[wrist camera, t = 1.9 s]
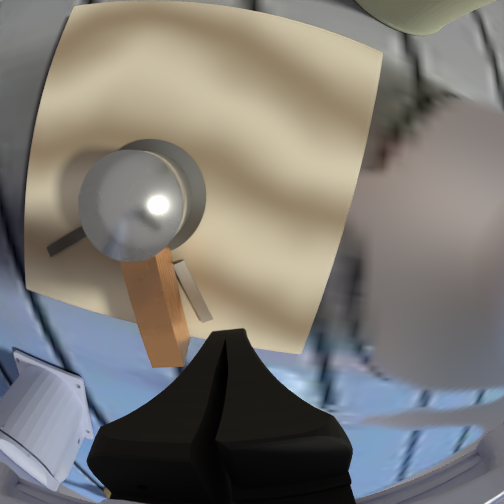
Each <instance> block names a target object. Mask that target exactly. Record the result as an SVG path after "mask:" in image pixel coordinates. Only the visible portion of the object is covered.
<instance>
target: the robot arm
mask: <svg viewBox="0 0 504 504" xmlns="http://www.w3.org/2000/svg"><path fill="white" fill-rule="evenodd" d="M13 354H14V358H15V362H16V366H17V369H18V373H19V376H18V378H17V379H16V380H15V381H14V383H13V384H12V385H11V387H10V388H9V389H8V390H7V392H6V393H5V394H4V396H3V397H2V398H1V400H0V504H96V503H92V502H88V501H84V500H81V499H77V498H74V497H71V496H67V495H64V494H61V493H59V492H58V491H57V488H58V486H59V483H61V482H62V481H64V480H65V479H66V478H67V477H68V475H69V473H70V470H71V468H72V465H73V463H74V461H75V458H76V456H77V453H78V451H79V449H80V446H81V444H82V442H83V439H84V437H85V438H88V439H93V438H94V434H93V429H92V425H91V420H90V415H89V410H88V405H87V399H86V393H85V387H84V381H83V379H82V378H81V377H80V376H77V375H75V374H72V373H69V372H67V371H64V370H62V369H59V368H57V367H54V366H52V365H49V364H47V363H45V362H42V361H40V360H38V359H35V358H33V357H31V356H29V355H27V354H24V353H22V352H20V351H18V350H15V351H14V353H13ZM352 455H353V449H352V446H351V443H350V441H349V439H348V437H347V435H346V433H345V432H344V430H343V429H342V427H341V426H340V424H339V423H338V421H337V420H336V419H335V417H334V416H332V415H330V414H328V413H326V412H324V411H322V410H319V409H317V408H315V407H313V406H312V405H310V404H309V403H307V402H305V401H304V400H302V399H301V398H299V397H298V396H297V395H295V394H294V393H293V392H291V391H290V390H289V389H287V388H286V387H285V386H284V385H283V384H282V383H281V382H279V381H278V380H277V379H276V378H275V377H274V376H273V374H272V373H271V372H270V371H269V370H268V369H267V368H266V366H265V365H264V364H263V362H262V361H261V360H260V358H259V357H258V355H257V354H256V352H255V351H254V349H253V347H252V346H251V344H250V341H249V339H248V337H247V333H246V330H245V329H244V328H238V329H229V330H220V331H212V332H211V333H210V335H209V336H208V338H207V340H206V341H205V343H204V344H203V346H202V347H201V349H200V350H199V351H198V353H197V354H196V356H195V357H194V358H193V360H192V361H191V362H190V364H189V365H188V366H187V367H186V368H185V369H184V371H183V372H182V373H181V374H180V375H179V376H178V377H177V378H176V379H175V380H174V381H173V382H172V383H171V384H170V385H169V386H168V387H167V388H166V389H165V390H163V391H162V392H161V393H160V394H158V395H157V396H156V397H154V398H153V399H152V400H150V401H149V402H148V403H146V404H145V405H143V406H141V407H140V408H138V409H137V410H135V411H133V412H131V413H130V414H128V415H126V416H124V417H122V418H120V419H117V420H115V421H113V422H111V423H108V424H106V425H104V426H101V427H100V429H99V431H98V433H97V435H96V437H95V439H94V442H93V445H92V447H91V450H90V452H89V455H88V458H87V464H88V467H89V469H90V470H91V471H92V473H93V474H94V475H95V476H96V477H97V478H98V480H99V481H100V482H101V483H102V484H103V485H104V486H105V487H106V488H107V489H108V490H109V491H110V492H111V495H110V499H106V500H103V501H101V502H100V503H98V504H500V503H501V502H503V501H504V422H503V423H501V424H500V425H498V426H497V427H495V428H494V429H492V430H491V431H489V432H488V433H487V434H486V435H485V436H484V437H483V438H482V439H481V440H480V442H479V443H478V445H477V448H476V449H474V450H473V451H471V452H469V453H468V454H466V455H464V456H462V457H460V458H458V459H456V460H454V461H453V462H451V463H449V464H447V465H445V466H443V467H441V468H438V469H436V470H434V471H432V472H430V473H428V474H426V475H423V476H421V477H418V478H416V479H414V480H411V481H409V482H406V483H404V484H401V485H398V486H396V487H393V488H390V489H387V490H384V491H381V492H378V493H375V494H372V495H369V496H366V497H362V498H359V499H354V496H353V492H352V489H351V486H350V484H351V478H350V475H349V472H348V470H349V466H350V463H351V459H352Z"/></svg>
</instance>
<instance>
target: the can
mask: <svg viewBox="0 0 504 504" xmlns="http://www.w3.org/2000/svg"><path fill="white" fill-rule="evenodd" d="M355 1H356V2H357V3H358V4H359V5H360V6H361V7H362V8H363V9H364V10H365V11H367V12H368V13H369V14H370V15H372V16H373V17H375V18H376V19H377V20H379V21H381V22H382V23H384V24H386V25H387V26H389V27H391V28H393V29H396V30H398V31H401V32H404V33H407V34H411V35H417V36H425V35H430V34H433V33H435V32H437V31H438V30H439V29H440V28H441V27H443V26H444V25H446V24H448V23H449V22H451V21H453V20H455V19H457V18H459V17H461V16H463V15H465V14H467V13H469V12H471V11H473V10H476V9H478V8H480V7H482V6H484V5H487V4H489V3H491V2H494V1H496V0H355Z"/></svg>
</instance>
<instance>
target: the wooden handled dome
mask: <svg viewBox="0 0 504 504" xmlns="http://www.w3.org/2000/svg"><path fill="white" fill-rule="evenodd" d="M191 205H192V190H191V185H190V182H189V179H188V177H187V175H186V173H185V172H184V170H183V169H182V167H181V166H180V165H179V164H178V163H177V162H175V161H174V160H173V159H171V158H170V157H168V156H166V155H164V154H161V153H157V152H149V151H140V150H120V151H116V152H113V153H110V154H108V155H106V156H104V157H103V158H101V159H100V160H99V161H97V162H96V163H95V164H94V165H93V166H92V168H91V169H90V170H89V171H88V173H87V174H86V176H85V178H84V180H83V182H82V185H81V188H80V193H79V199H78V211H79V218H80V221H81V225H82V227H83V230H84V232H85V234H86V236H87V237H88V239H89V240H90V242H91V243H92V244H93V245H94V246H95V247H96V248H97V249H98V250H99V251H100V252H102V253H103V254H105V255H106V256H108V257H110V258H112V259H115V260H118V261H120V264H121V268H122V272H123V276H124V280H125V283H126V287H127V291H128V294H129V298H130V301H131V305H132V308H133V312H134V315H135V318H136V321H137V324H138V328H139V331H140V334H141V337H142V340H143V343H144V346H145V349H146V351H147V354H148V357H149V360H150V363H151V365H152V368H159V367H181V366H184V364H185V359H186V355H187V351H188V346H189V342H190V334H189V330H188V326H187V322H186V318H185V314H184V310H183V306H182V301H181V297H180V293H179V288H178V284H177V279H176V274H175V270H174V265H173V260H172V255H171V250H170V245H169V243H170V241H171V240H172V239H173V238H174V236H175V235H176V234H177V233H178V231H179V230H180V229H181V228H182V227H183V225H184V224H185V222H186V221H187V218H188V216H189V214H190V210H191Z"/></svg>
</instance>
